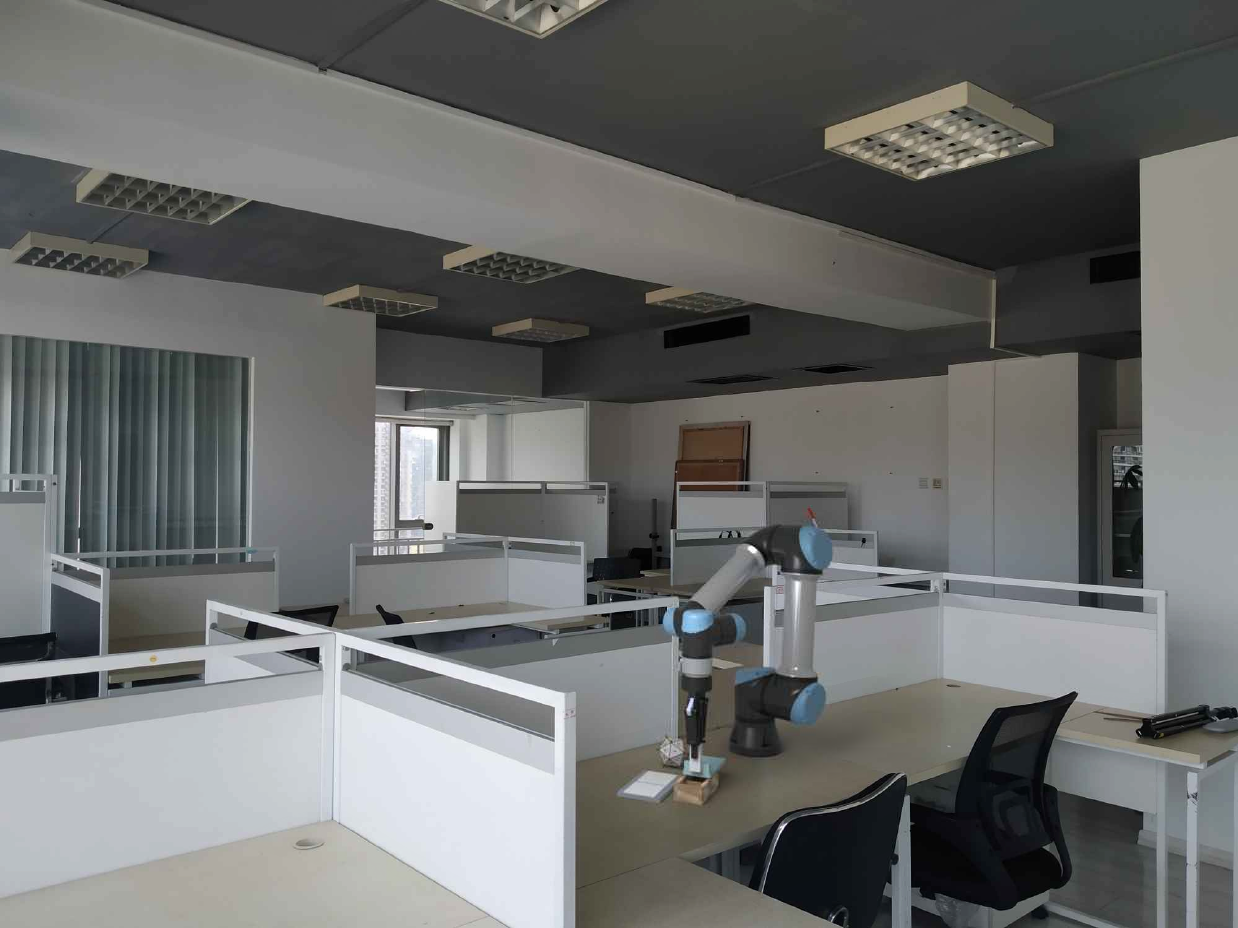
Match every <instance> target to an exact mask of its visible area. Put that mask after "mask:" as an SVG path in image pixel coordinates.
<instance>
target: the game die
mask: <svg viewBox="0 0 1238 928" xmlns="http://www.w3.org/2000/svg"><path fill="white" fill-rule="evenodd" d="M664 736H665V739H664V741H663V742H662V743H661V745H660V746H659V748H655V750H656V751H658V753H659V756H660V758H661V761H662V763H663V764H662V766H661V767H662V768H665V766H669V767H671V766H672V767H678V768H679V769H680V770H682V764H684V761H685V760H686V758H687V756H689V757H690V752H689V753H688V751H687V748H686V743H685V742H684V739H685V736H682V738H674V737H668V735H667V734H665V735H664Z"/></svg>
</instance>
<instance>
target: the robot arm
mask: <svg viewBox="0 0 1238 928" xmlns="http://www.w3.org/2000/svg"><path fill="white" fill-rule="evenodd" d="M833 551H834V549H833V545H832V540H831V538H830V536H829V535H828V533H827V531H825V530H824V529H823V528H822V527H819V526H812V525H800V524H798V525H796V524H781V523H780V524H778V523H777V524H776V523H775V524H770V525H767V526H765V527H763V528H760V529H759V530H757V531H755V532H753V533H752V534H750V535H749V536H748V537H747V538H745V539H744V540H743V541H742V542H741V543H739V545H738V546H737V547H736V549H735V553H734V555H732V557H731V558H729V560H728V561H726V563H725V564H724V565H723V566H721V567H720V569H719V570H718V571H717V572H716V573H715V574H714V575H713V576H712V577H710V579H709V580H708V581H706V583H705V584H704V585H702V586H701V587H700V588H699V590H697V591H696V593H694V594H693V596H692V597H691V598H690V599H688V600H687V602H686V603H684V604H683V605H682V606H681V607H678V606H677V607H670V608H668V609H667V610H666V611H665V613H664V615H663V619H662V625H663V628H664V630H665V632H666V634H668V635H670V636H672V637H675V638H676V637H677V638H678V639H679V638H680V639H681V658H680V659H679V663H680V664H681V672H682V674H681V685H680V686H681V689H682V690H683V692H687V693H688V695H687V698H686V706H684V707H683V715H684V719H685V735H686V736H685V737H686V742H685V745H689V753H690V756H689V761H690V771H694V772H701V771H702V756H703V744H706V743H707V742H706V741H707V740H705V738H706V729H707V718H708V717H707V716H708V706H709V701H710V700H709V697H706V693H708V692H709V693H710V692H711V691H712V689H713V676H712V675H711V674H713V653H714V652H713V650H714V649H713V648H715V647H722V646H727V645H729V646H730V645H734V644H737V643H740V642H742V640H743V639H744V638H745V636H746V633H747V630H746V629H747V627H746V623H745V621H744V619H743V617H742V616H741V615H739V614H737V613H725V614H720V613H718V612H719V610H721V608H722V607H724V605H726V603H727V602H728V601H729V600H730V599H731V598H732V597H733V596H734V595H735V594H736V593H737V592H738V591H739V590H740V589H741V588H742V586H744V585H745V584H746V583H747V581H749V580H750V579H751V577H752V576H754V574H756V573H757V574H758V573H760V572H762V571H764V569H766V567H768V566H769V567H770V566H780V570H779V571H780V572H779V573H780V575H782V577H783V578H784V579H785V583H784V585H785V586H784V601H783V602H784V605H783V625H782V643H781V646H782V648H781V660H780V662H781V663H780V666H779V667H778V668H775V667H773V666H754V667H753V666H752V667H751V666H750V667H745V668H741V669H738V670H737V671H736V672H735V677H734V684H733V685H734V720H733V721H734V722H733V724H732V727H731V729H730V733H729V736H728V739H727V748H728V750H729V751H731V752H732V753H735V754H738V755H742V756H747V757H771V756H776V755H778V754H780V753H781V751H782V741H781V737H780V734H779V730H778V727H777V724H776V719H778V720H783V721H786V722H790V723H792V724H794V725H798V724H799V725H803V726H808V725H812V724H814V723H815V722H816V721H818V719H819V718H820V716H821V715H822V714H823V712H824V710H825V707H826V701H827V693H826V690H825V686H824V685H823V684H821V682H820V683H819V675H818V673H817V672H816V671H815V669H814V668H813V667H814V651H815V650H814V648H815V628H816V624H815V623H816V610H817V609H816V606H817V603H816V602H817V586H818V585H817V584H818V580H820V579H821V578H822V577H823V576H824V575H823V574H824V570H826V569H828V567H829V566H830V565H831V562H832V560H833V554H834V552H833Z"/></svg>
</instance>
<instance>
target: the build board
mask: <svg viewBox="0 0 1238 928" xmlns="http://www.w3.org/2000/svg"><path fill="white" fill-rule="evenodd" d="M682 776H683V775H678V774H672V773H665V772H659V771H651V770H645V769H644V770H642V771H641V772H640V773H639V774H637V775H636V776H635V777H634V778H633V779H631V780H630V781H629V782H627V784H625V785H624V786H623V787H622V788H620V789H619V790H618V791H617V792H616V797H618V798H625V799H626V798H627V799H632V800H638V801H644V802H650V803H656V804H660V803H661V802H662V801H663V800H665V799H666V798H667V796H669V795H670V794H671V793H672V792H674V783H675V782H677V781H678V780H679V779H680V778H681V777H682Z"/></svg>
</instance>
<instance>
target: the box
mask: <svg viewBox="0 0 1238 928" xmlns="http://www.w3.org/2000/svg"><path fill="white" fill-rule="evenodd" d="M681 776H682V777H681V778H680V779H679V780H678V781H677V782H675V783H674V790H673V801H674V802H680V803H686V804H693V805H698V806H703V804H704V803H705V802H706V801H707V800H708V799H709V798H710V797H711V795H713V794H714V792H715V791H716V790H717V789H718V788H719V770H718V771H717V772H716V773H715V774H714V775H713V776H712V777H711V778H705V777H698V776H691V775H684V774H682V775H681Z"/></svg>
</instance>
